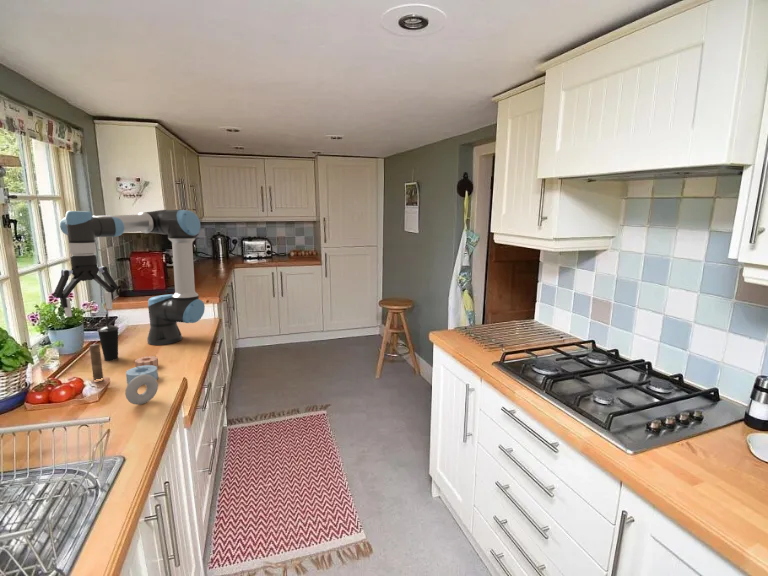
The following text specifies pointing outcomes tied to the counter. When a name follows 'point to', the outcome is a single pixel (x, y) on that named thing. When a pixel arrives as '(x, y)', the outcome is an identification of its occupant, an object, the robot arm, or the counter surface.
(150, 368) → the blue thick ring
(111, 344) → the drinking cup
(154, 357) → the bead
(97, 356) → the dowel
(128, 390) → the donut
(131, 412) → the counter surface
